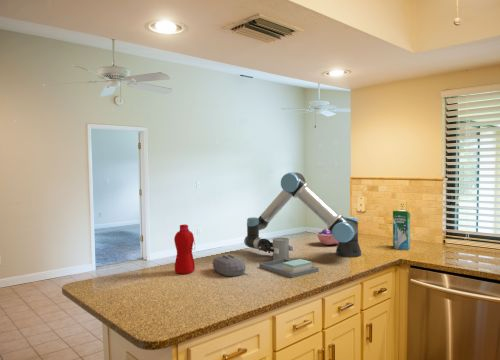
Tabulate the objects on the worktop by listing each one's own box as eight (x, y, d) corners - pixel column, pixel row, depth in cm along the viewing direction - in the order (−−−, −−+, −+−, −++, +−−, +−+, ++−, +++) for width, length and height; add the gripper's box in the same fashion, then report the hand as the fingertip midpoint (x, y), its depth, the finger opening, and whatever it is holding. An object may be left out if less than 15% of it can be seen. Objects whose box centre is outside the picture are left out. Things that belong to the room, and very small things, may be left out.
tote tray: (259, 269, 203) (259, 263, 202) (285, 263, 213) (284, 258, 213) (291, 279, 181) (291, 273, 181) (318, 273, 192) (318, 267, 192)
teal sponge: (282, 272, 191) (282, 262, 191) (300, 268, 198) (300, 258, 198) (293, 276, 184) (293, 265, 184) (312, 271, 192) (311, 261, 191)
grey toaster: (209, 270, 203) (224, 279, 185) (208, 254, 202) (224, 262, 185) (234, 266, 210) (251, 274, 192) (234, 251, 210) (251, 258, 192)
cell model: (347, 247, 256) (347, 230, 255) (318, 247, 256) (317, 230, 255) (342, 242, 272) (341, 226, 272) (314, 242, 273) (313, 227, 272)
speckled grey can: (278, 262, 216) (277, 241, 215) (269, 259, 224) (269, 238, 224) (292, 260, 220) (292, 239, 220) (283, 257, 229) (283, 237, 228)
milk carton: (410, 247, 251) (410, 209, 250) (407, 249, 243) (407, 211, 243) (395, 246, 256) (395, 209, 255) (393, 248, 248) (392, 210, 247)
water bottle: (191, 275, 192) (190, 226, 192) (172, 273, 196) (171, 225, 195) (199, 270, 201) (198, 223, 200) (181, 269, 205) (180, 223, 204)
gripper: (276, 247, 243) (300, 253, 225) (247, 252, 230) (270, 259, 212) (276, 236, 243) (299, 241, 225) (247, 240, 230) (270, 246, 212)
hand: (285, 250), depth 218 cm, fingers open, 10 cm apart
